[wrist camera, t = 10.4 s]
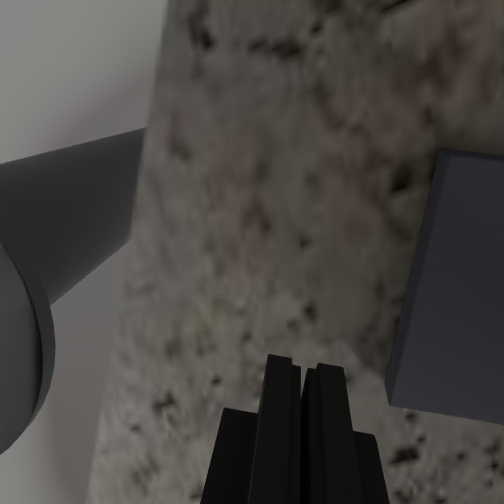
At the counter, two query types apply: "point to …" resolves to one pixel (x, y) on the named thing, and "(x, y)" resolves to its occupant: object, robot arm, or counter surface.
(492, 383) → the charcoal pad
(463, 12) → the counter surface
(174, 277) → the counter surface
